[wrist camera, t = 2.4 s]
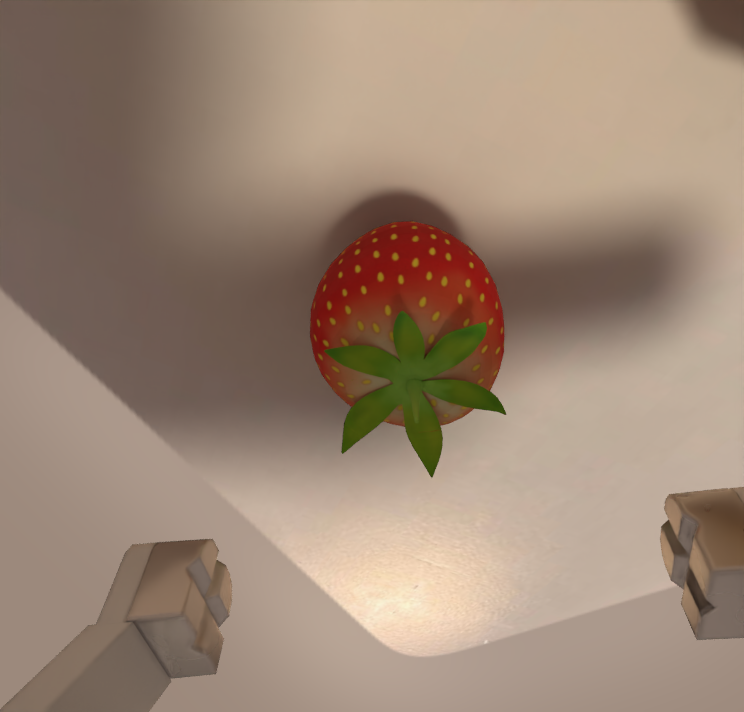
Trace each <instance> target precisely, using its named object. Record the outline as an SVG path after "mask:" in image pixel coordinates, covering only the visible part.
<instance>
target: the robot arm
mask: <svg viewBox="0 0 744 712" xmlns="http://www.w3.org/2000/svg"><path fill="white" fill-rule="evenodd" d="M664 510H665V512H666V514H667V517H668V519H669V520H668V521H667V522H666V523H664V524H663V525H662V526H661V536H660V542H661V550H662V556H663V560H664V563H665V566H666V569H667V572H668V574H669V576H670V579H671V581H673V582H674V583H675V584H677V585H678V586H679V587H681V588H682V589H683V596H682V601H681V605H682V607H683V609H684V612H685V614H686V616H687V618H688V621H689V623H690V626H691V628H692V630H693V632H694V635H695V637H696V639H697V640H706V639H728V638H744V487H738V488H730V489H728V488H722V489H713V490H704V491H694V492H685V493H676V494H669V495H668V497H667V498H666V500H665V506H664ZM218 551H219V550H218V548H217V546H216V544H215V542H214V540H213V539H200V540H185V541H170V542H157V543H147V544H133V545H132V546H131V547H130V548H129V549H128V550H127V551H126V553H125V555H124V557H123V560H122V562H121V564H120V567H119V569H118V572H117V575H116V577H115V579H114V582H113V584H112V587H111V589H110V592H109V594H108V596H107V599H106V601H105V604H104V606H103V609H102V611H101V614H100V616H99V619H98V621H97V624H96V625H88V626H87V627H86V628H85V629H84V630H83V631H82V632H81V633H80V634H79V635H78V636H77V637H76V638H75V639H74V640H73V641H71V642H70V644H68V645H67V646H66V647H65V648H64V649H63V650H62V651H61V652H60V653H59V654H58V655H57V656H56V657H55V658H54V659H53V660H52V661H51V662H50V663H49V664H47V665H46V666H45V667H44V668H43V669H42V670H41V671H40V672H39V673H38V674H37V675H36V676H35V677H34V678H33V679H32V680H31V681H30V682H28V683H27V684H26V685H25V686H24V687H23V688H22V689H21V690H20V691H19V692H18V693H17V694H16V695H15V696H14V697H13V698H12V699H11V700H10V701H9V702H7V703H6V704H5V705H4V706H3V707H2V708H1V709H0V712H149V711H150V709H151V708H152V707H153V705H154V704H155V703H156V701H157V700H158V699H159V697H160V696H161V695H162V693H163V692H164V691H165V689H166V688H167V687H168V685H169V684H170V683H171V678H181V677H190V676H200V675H211V674H216V671H217V667H218V663H219V658H220V654H221V649H222V645H223V640H224V638H223V636H222V634H221V632H220V631H219V627H220V626H221V624H222V623H223V622H224V621H225V620H226V618H228V617H229V613H230V608H231V603H232V583H231V578H230V573H229V571H228V569H227V567H226V565H225V564H223V563H221V562H219V561H218V560H217V555H218Z"/></svg>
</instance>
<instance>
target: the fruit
mask: <svg viewBox="0 0 744 712" xmlns="http://www.w3.org/2000/svg"><path fill="white" fill-rule="evenodd" d="M310 338H311V343H312V349H313V353H314V357H315V360H316V363H317V365H318V367H319V370H320V372H321V374H322V376H323V377H324V379H325V380H326V381H327V383H328V384H329V385H330V386H331V388H332V389H333V390H334V391H335V393H336V394H337V395H338V396H339V397H340V398H342V399H343V400H344V401H345V402H346V403H347V404H349V405H350V406H352V408H351V409H350V411H349V412H348V414H347V416H346V419H345V423H344V430H343V442H342V454H343V453H344V452H346V451H347V450H348V449H349V448H350V447H352V446H353V445H354V444H355V443H356V442H358V441H359V440H360V439H361V438H363V437H364V436H365V435H367V434H368V433H369V432H371V431H372V430H373V429H374V428H376V427H377V426H378V425H379V424H380V423H381V422H383V421H384V422H387V423H390V424H394V425H399V426H405V429H406V433H407V435H408V438H409V440H410V442H411V444H412V446H413V448H414V449H415V451H416V453H417V454H418V456H419V458H420V459H421V461H422V462H423V464H424V466H425V467H426V469H427V471H428V472H429V474H430V476H431V477H433V474H434V472H435V469H436V467H437V464H438V462H439V459H440V455H441V451H442V440H443V437H442V431H441V427H440V426H441V425H445V424H449V423H451V422H453V421H456V420H458V419H460V418H462V417H464V416H465V415H467V414H468V413H469V412H471V411H472V410H473V409H474V408H475V409H482V410H490V411H496V412H500V413H502V414H505V415H506V412H505V410H504V408H503V405H502V404H501V402H500V401H499V399H498V398H497V397H496V396H495V395H494V394H493V393H492V392H490V390H491V388H492V385H493V383H494V381H495V379H496V377H497V374H498V372H499V369H500V366H501V361H502V357H503V353H504V320H503V311H502V306H501V303H500V299H499V295H498V292H497V288H496V285H495V283H494V281H493V279H492V277H491V276H490V274H489V272H488V270H487V268H486V267H485V265H484V263H483V262H482V260H481V259H480V258H479V257H478V256H477V255H476V254H475V253H474V252H473V251H472V250H471V249H470V248H469V247H468V246H467V245H465V244H464V243H463V242H461V241H460V240H458V239H457V238H455V237H454V236H452V235H451V234H449V233H447V232H444V231H442V230H440V229H438V228H436V227H434V226H430V225H426V224H422V223H418V222H413V221H407V222H393V223H390V224H387V225H384V226H381V227H378V228H375V229H373V230H372V231H370V232H368V233H366V234H365V235H363V236H361V237H359V238H358V239H357V240H356V241H354V242H353V243H352V244H351V245H349V246H348V247H347V248H346V249H345V250H344V251H343V252H342V253H341V254H340V255H339V256H338V257H337V258H336V259H335V260H334V261H333V263H332V264H331V265H330V266H329V268H328V270H327V271H326V273H325V275H324V276H323V278H322V280H321V281H320V283H319V285H318V287H317V291H316V294H315V297H314V300H313V303H312V307H311V319H310Z"/></svg>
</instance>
